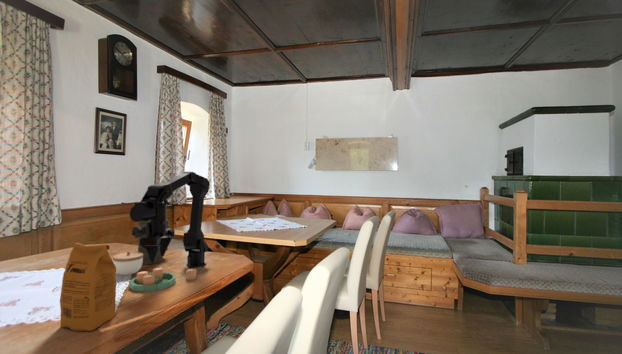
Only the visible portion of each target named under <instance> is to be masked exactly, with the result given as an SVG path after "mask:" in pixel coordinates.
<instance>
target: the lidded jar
mask: <svg viewBox="0 0 622 354" xmlns="http://www.w3.org/2000/svg"><path fill="white" fill-rule="evenodd" d="M112 261H113V263H114V264H115V267H116V274H117V275H120V276H128V275H133V274H137V273H138V272H140V270H141V269H142V266H143V265H144V264H143V253H140V252H138V251H130V250H127V251H126V252H122V253H118V254H115V255H113V256H112Z"/></svg>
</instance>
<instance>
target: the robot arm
mask: <svg viewBox="0 0 622 354" xmlns="http://www.w3.org/2000/svg"><path fill="white" fill-rule="evenodd" d="M210 183H211V182H210V180H209V179H208V178H207V177H204V176H202V175H199V174H198V173H196V172H194V171H183V172H182V173H181V174H179V175H176V176H174V177H172V178H171V179H168V180H167V181H165V182H159V183H154V184H151V185H149V186H148V187H147V190H146V191H145V193H144V195H143V197H142V198H141V200H140V201H136V202H134V205H133V206H132V207H131V208H130V211H129V218H130V220H132V222H136V223H139V221H145V220H150V221H148V222H147V226H144V227H141V228H140V227H139V225H136V226H134V227H132V230H131V235H132V236H133V237H134V239H137V238H138V237H140V236H142V235H145V234H146V236H143V237H141V238H140V239H139V246H141V247H143V248H145V249H146V250H147V253H148V256H149V259H150V262H151V263H154V262H155V259H156V256H157V253H158V250H159V248H160V254H161V256H163V257H164V256H165V254H166V252H167V251H168V250H167V248H169V246H170V243H171V242H172V240H173V238H174V236H175V230H174V229H173V228H169V229H166V223H168V224H169V219H167V206H171V205H172V204H171V203H170V202H169V201H168V199H169V198H171V197H172V196H173V192H175V191H177V190H178V189H180V188H181V187H184V186H185V185H187V186H188V187H189V193H190V195H191V197H192V198H191V200H192V201H191V208H190V218H189V219H190V220H189V228H188V230H187V232H184V233H183V238H182V242H183V243H182V244H183V246H184V247H183V248H184V251H185V252H187V253H188V255H187V261H186V266H189V267H191V268H198V267H201V266H205V265H207V263H206V262H205V260H206V259H205V254H206V253H207V252H208V249H209V245H208V244H207V242H206V241H205V234H204V232H203V231H202V224H203V222H202V221H203V211H204V202H205V197H206V195H208V194H209V193H208V192H209V189H210V185H211V184H210ZM150 235H151V236H150ZM166 250H167V251H166Z"/></svg>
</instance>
